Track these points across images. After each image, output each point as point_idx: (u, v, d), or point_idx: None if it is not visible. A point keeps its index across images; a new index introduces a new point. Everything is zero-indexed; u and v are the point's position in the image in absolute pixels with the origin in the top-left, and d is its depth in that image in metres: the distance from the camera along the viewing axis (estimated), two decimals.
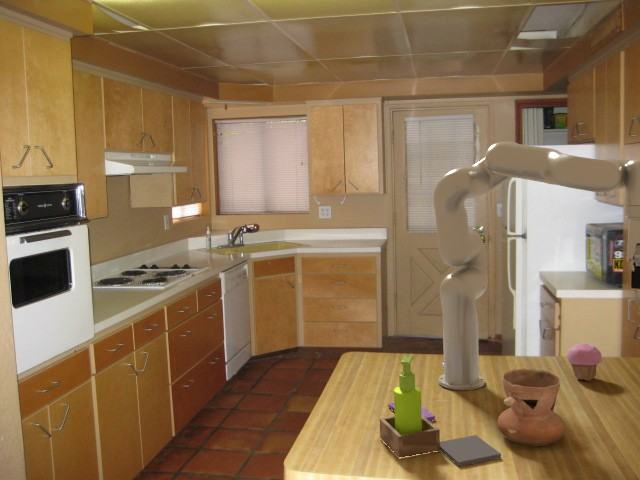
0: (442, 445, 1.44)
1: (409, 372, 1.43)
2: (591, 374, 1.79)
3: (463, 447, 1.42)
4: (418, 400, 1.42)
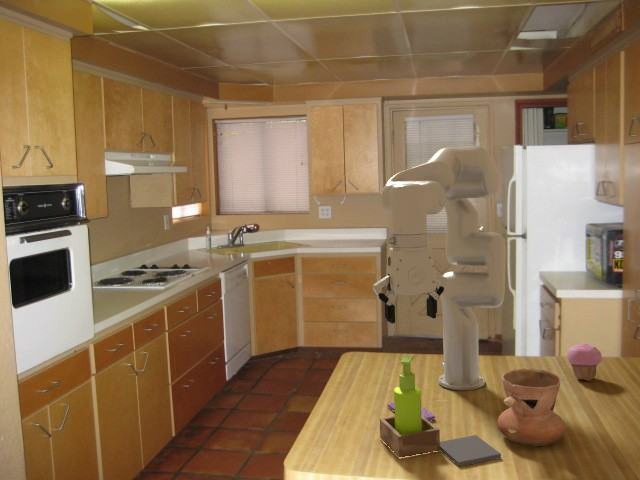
0: (442, 445, 1.44)
1: (409, 372, 1.43)
2: (591, 374, 1.79)
3: (463, 447, 1.42)
4: (418, 400, 1.42)
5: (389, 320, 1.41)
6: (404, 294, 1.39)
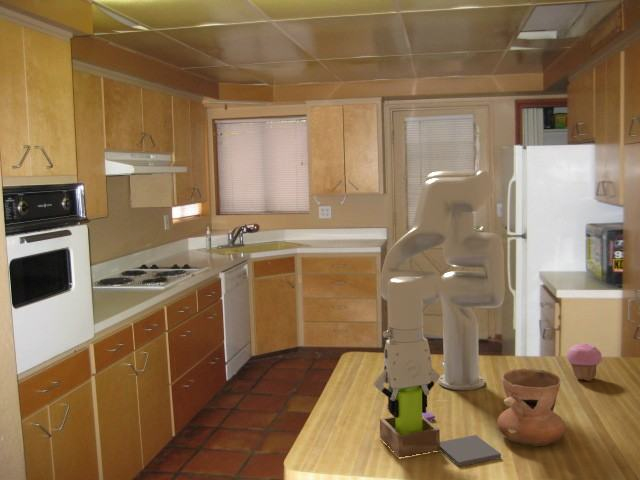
0: (442, 445, 1.44)
1: None
2: (591, 374, 1.79)
3: (463, 447, 1.42)
4: (419, 400, 1.42)
5: (392, 414, 1.44)
6: (401, 387, 1.41)
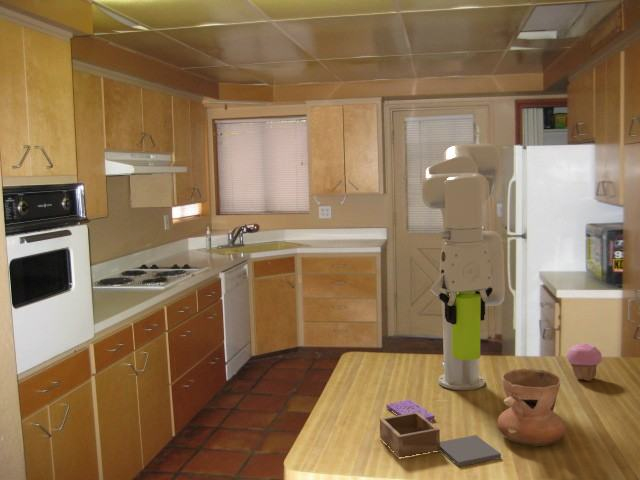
0: (442, 445, 1.44)
1: None
2: (591, 374, 1.79)
3: (463, 447, 1.42)
4: (478, 305, 1.35)
5: (449, 321, 1.37)
6: (459, 290, 1.34)
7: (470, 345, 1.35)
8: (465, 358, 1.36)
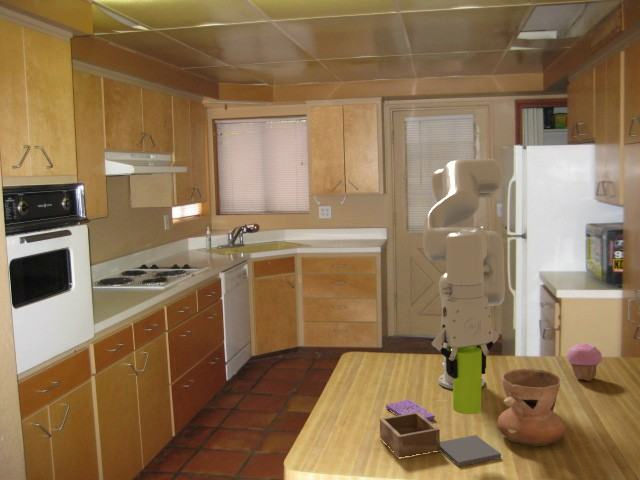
0: (442, 445, 1.44)
1: None
2: (591, 374, 1.79)
3: (463, 447, 1.42)
4: (479, 359, 1.36)
5: (451, 375, 1.38)
6: (460, 346, 1.35)
7: (471, 399, 1.37)
8: (466, 412, 1.37)
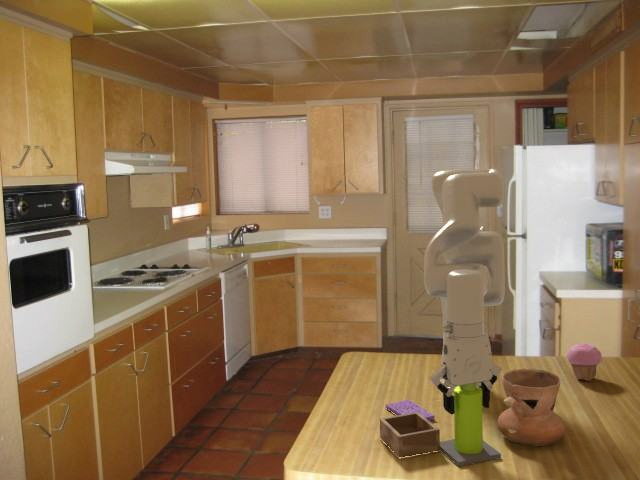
0: (442, 445, 1.44)
1: None
2: (591, 374, 1.79)
3: None
4: (479, 400, 1.38)
5: (448, 410, 1.39)
6: (461, 384, 1.36)
7: (473, 440, 1.38)
8: (468, 452, 1.39)
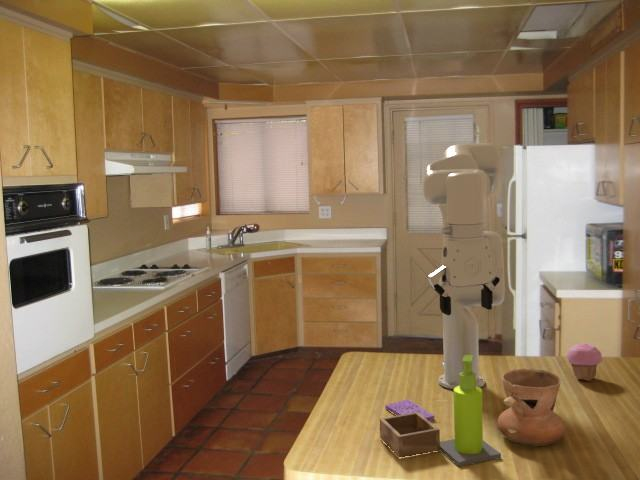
0: (442, 445, 1.44)
1: (470, 371, 1.39)
2: (591, 374, 1.79)
3: None
4: (479, 400, 1.38)
5: (444, 312, 1.38)
6: (461, 285, 1.36)
7: (473, 440, 1.38)
8: (468, 452, 1.39)
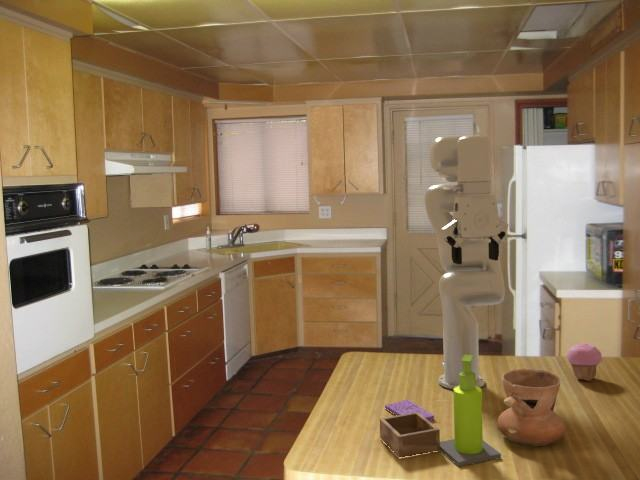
0: (442, 445, 1.44)
1: (470, 371, 1.39)
2: (591, 374, 1.79)
3: None
4: (479, 400, 1.38)
5: (456, 262, 1.54)
6: (470, 237, 1.51)
7: (472, 440, 1.38)
8: (468, 452, 1.39)
